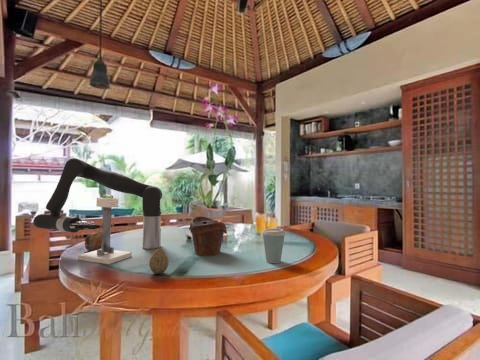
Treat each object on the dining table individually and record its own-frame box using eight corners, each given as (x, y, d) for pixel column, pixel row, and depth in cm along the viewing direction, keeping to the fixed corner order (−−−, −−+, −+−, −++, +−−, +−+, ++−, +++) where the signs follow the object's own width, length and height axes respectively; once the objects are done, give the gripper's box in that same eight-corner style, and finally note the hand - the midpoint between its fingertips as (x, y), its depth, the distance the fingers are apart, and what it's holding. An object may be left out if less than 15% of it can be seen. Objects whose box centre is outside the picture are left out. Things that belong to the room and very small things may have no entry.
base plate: (77, 259, 127) (78, 249, 127) (102, 252, 140) (102, 243, 140) (108, 264, 121) (108, 254, 121) (131, 256, 134) (131, 247, 134)
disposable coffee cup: (266, 265, 123) (267, 231, 124) (258, 258, 134) (258, 227, 134) (288, 264, 126) (289, 230, 126) (278, 257, 137) (279, 227, 137)
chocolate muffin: (222, 258, 133) (222, 220, 133) (182, 255, 137) (183, 219, 137) (230, 250, 150) (231, 217, 151) (195, 248, 154) (196, 215, 155)
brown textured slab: (89, 252, 141) (89, 235, 141) (83, 252, 141) (83, 235, 141) (104, 245, 156) (104, 230, 156) (98, 245, 156) (99, 230, 156)
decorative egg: (169, 271, 113) (170, 246, 113) (165, 277, 106) (166, 250, 106) (152, 270, 113) (152, 246, 113) (146, 276, 106) (147, 250, 106)
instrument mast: (94, 251, 130) (96, 194, 130) (103, 249, 134) (105, 194, 134) (108, 253, 127) (110, 195, 127) (116, 251, 132) (118, 195, 132)
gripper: (56, 218, 133) (83, 220, 127) (80, 215, 145) (106, 217, 139) (56, 233, 133) (83, 237, 127) (80, 229, 145) (106, 232, 139)
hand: (95, 226), depth 133 cm, fingers closed
